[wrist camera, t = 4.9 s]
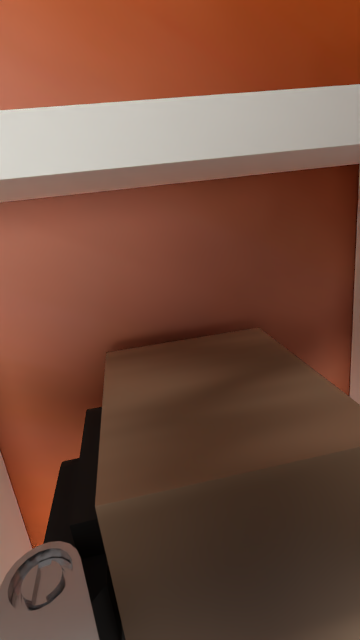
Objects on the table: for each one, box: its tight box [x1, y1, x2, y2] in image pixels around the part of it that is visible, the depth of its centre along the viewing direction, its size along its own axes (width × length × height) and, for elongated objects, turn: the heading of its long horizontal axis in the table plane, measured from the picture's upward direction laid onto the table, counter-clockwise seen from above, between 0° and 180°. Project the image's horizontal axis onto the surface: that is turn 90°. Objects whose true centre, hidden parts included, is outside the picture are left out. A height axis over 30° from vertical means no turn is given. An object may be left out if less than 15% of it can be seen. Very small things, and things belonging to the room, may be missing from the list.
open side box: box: [0, 84, 360, 586], centre depth 10 cm, size 16×15×5 cm
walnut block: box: [95, 327, 360, 640], centre depth 9 cm, size 5×5×6 cm
